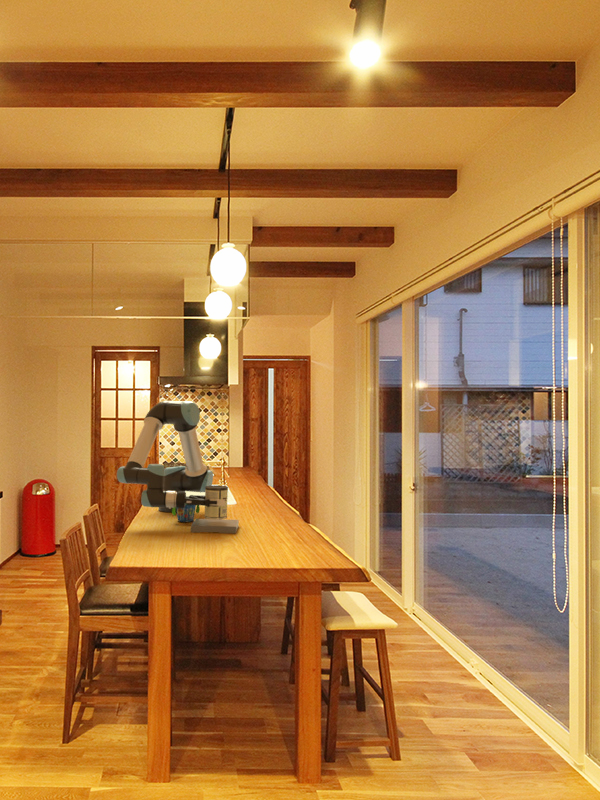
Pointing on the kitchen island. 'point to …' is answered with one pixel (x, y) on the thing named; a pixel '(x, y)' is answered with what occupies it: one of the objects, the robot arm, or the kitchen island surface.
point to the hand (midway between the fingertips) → (225, 500)
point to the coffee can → (215, 510)
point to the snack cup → (186, 513)
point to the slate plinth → (215, 525)
